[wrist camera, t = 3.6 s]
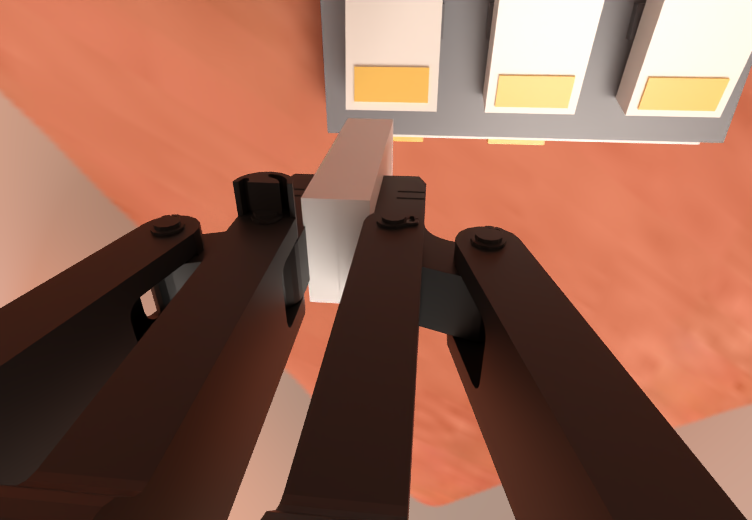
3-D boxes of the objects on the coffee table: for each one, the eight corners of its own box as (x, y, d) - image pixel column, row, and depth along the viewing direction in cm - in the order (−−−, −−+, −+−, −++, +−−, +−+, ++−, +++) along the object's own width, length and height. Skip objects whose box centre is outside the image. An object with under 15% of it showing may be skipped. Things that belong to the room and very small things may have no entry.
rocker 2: (504, -80, 22) (509, -71, 20) (611, -82, 21) (624, -72, 20) (482, 95, 27) (484, 113, 25) (567, 97, 27) (574, 115, 25)
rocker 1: (351, -65, 24) (344, -80, 22) (445, -66, 23) (446, -81, 21) (351, 108, 26) (345, 109, 24) (436, 110, 26) (436, 111, 24)
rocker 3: (672, -83, 21) (691, -73, 19) (786, -84, 20) (814, -75, 19) (615, 98, 26) (626, 116, 25) (704, 99, 26) (721, 118, 24)
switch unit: (332, -110, 27) (310, -126, 22) (758, -119, 25) (834, -138, 20) (342, 119, 34) (326, 144, 29) (681, 127, 32) (725, 156, 27)
